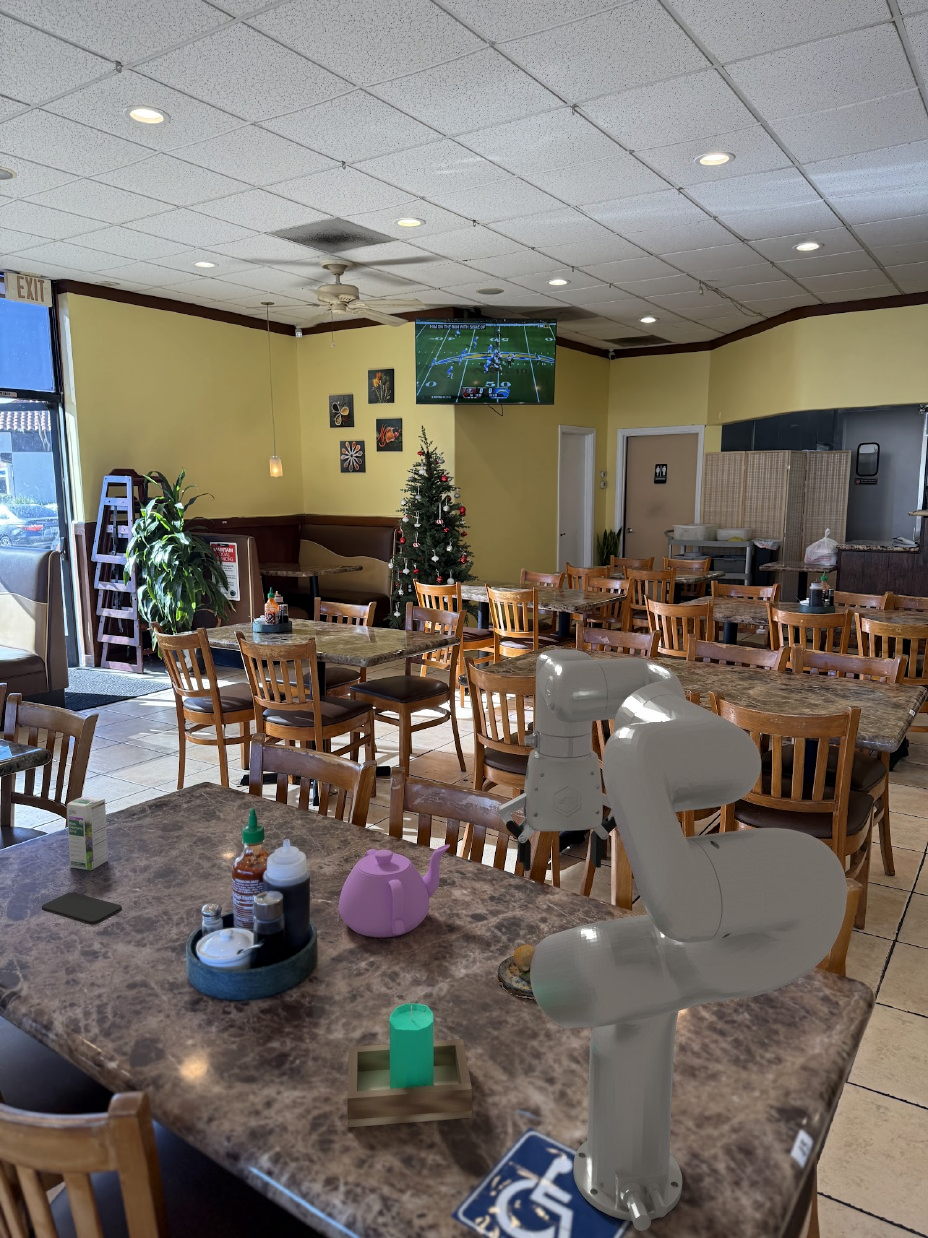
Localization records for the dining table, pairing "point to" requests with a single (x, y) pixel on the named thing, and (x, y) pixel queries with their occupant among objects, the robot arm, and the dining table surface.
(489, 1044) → the dining table surface
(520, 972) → the plate of food
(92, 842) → the syrup box
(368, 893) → the teapot
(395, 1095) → the tray
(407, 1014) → the candle
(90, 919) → the phone
